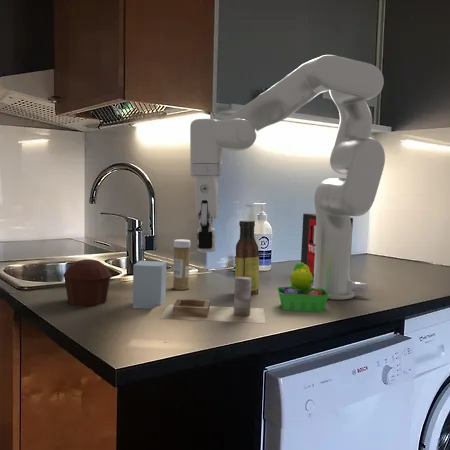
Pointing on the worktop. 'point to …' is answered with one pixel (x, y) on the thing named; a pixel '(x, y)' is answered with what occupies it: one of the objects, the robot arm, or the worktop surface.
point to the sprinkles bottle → (181, 264)
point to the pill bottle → (212, 240)
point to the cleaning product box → (310, 241)
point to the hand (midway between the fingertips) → (206, 246)
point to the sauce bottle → (247, 255)
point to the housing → (149, 284)
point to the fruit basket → (302, 292)
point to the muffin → (87, 283)
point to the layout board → (205, 312)
